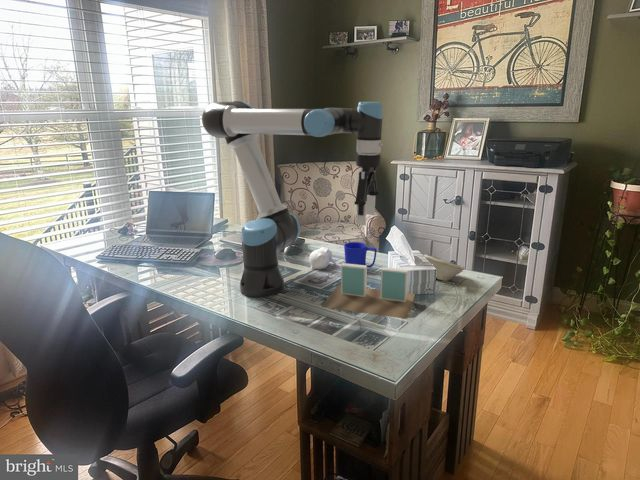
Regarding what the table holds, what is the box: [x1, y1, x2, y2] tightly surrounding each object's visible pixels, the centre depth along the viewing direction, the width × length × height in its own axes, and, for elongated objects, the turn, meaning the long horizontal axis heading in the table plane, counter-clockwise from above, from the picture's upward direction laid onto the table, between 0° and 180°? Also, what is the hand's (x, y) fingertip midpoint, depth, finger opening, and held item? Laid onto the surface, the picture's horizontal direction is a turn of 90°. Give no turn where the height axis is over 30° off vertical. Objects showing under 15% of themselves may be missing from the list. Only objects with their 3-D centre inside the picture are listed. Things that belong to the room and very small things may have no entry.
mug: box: [343, 241, 378, 268], centre depth 167 cm, size 8×12×10 cm
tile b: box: [380, 266, 409, 302], centre depth 140 cm, size 8×2×10 cm, turn 71°
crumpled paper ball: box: [308, 246, 338, 271], centre depth 171 cm, size 9×11×12 cm
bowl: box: [422, 253, 465, 282], centre depth 158 cm, size 15×14×10 cm
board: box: [321, 284, 416, 319], centre depth 141 cm, size 26×18×1 cm
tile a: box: [340, 262, 368, 297], centre depth 144 cm, size 8×2×10 cm, turn 71°
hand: (365, 219), depth 146 cm, fingers open, 13 cm apart
